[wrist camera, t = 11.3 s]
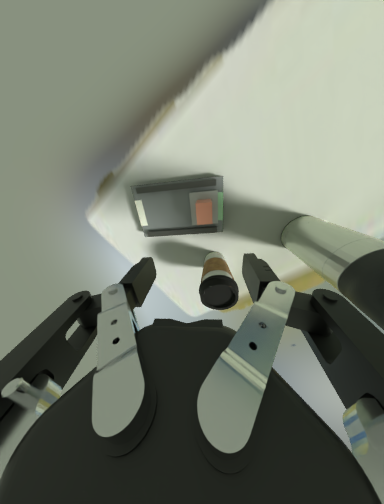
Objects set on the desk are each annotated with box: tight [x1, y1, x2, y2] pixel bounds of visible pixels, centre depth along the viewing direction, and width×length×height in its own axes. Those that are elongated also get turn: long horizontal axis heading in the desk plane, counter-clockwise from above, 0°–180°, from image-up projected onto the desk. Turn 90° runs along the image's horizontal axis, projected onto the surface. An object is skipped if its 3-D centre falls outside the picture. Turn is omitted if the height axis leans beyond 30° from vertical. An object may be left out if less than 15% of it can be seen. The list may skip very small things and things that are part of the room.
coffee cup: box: [199, 252, 239, 310], centre depth 34 cm, size 8×8×15 cm
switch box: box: [131, 176, 223, 237], centre depth 32 cm, size 20×12×4 cm, turn 96°
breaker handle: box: [189, 190, 218, 225], centre depth 28 cm, size 6×7×6 cm
